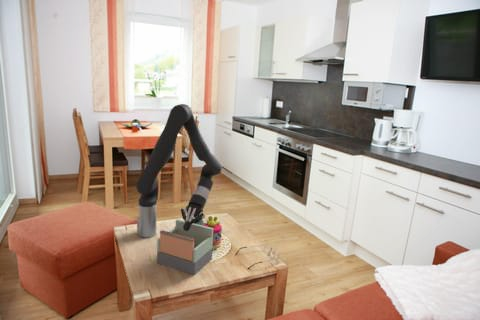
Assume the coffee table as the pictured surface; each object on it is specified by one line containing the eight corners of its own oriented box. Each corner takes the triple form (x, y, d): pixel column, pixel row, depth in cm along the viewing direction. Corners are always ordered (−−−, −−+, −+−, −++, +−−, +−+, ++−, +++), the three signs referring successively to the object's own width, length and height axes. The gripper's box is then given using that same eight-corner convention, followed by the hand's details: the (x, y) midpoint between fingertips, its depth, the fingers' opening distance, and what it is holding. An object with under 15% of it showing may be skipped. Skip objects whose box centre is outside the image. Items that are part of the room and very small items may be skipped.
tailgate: (161, 250, 156) (162, 230, 154) (193, 259, 150) (194, 238, 148) (159, 251, 155) (160, 231, 153) (191, 261, 149) (192, 240, 146)
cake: (223, 249, 175) (225, 221, 171) (204, 251, 171) (205, 223, 167) (217, 240, 184) (218, 214, 181) (198, 242, 180) (199, 215, 177)
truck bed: (176, 248, 171) (177, 219, 168) (211, 259, 164) (213, 228, 160) (157, 263, 157) (157, 231, 154) (194, 275, 149) (195, 241, 146)
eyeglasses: (282, 263, 165) (283, 254, 164) (248, 271, 156) (249, 261, 155) (265, 248, 179) (266, 239, 178) (233, 254, 170) (234, 245, 169)
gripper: (185, 191, 164) (170, 223, 156) (209, 196, 159) (195, 229, 151) (190, 198, 170) (176, 230, 162) (214, 203, 165) (200, 236, 157)
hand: (185, 230), depth 156 cm, fingers closed
